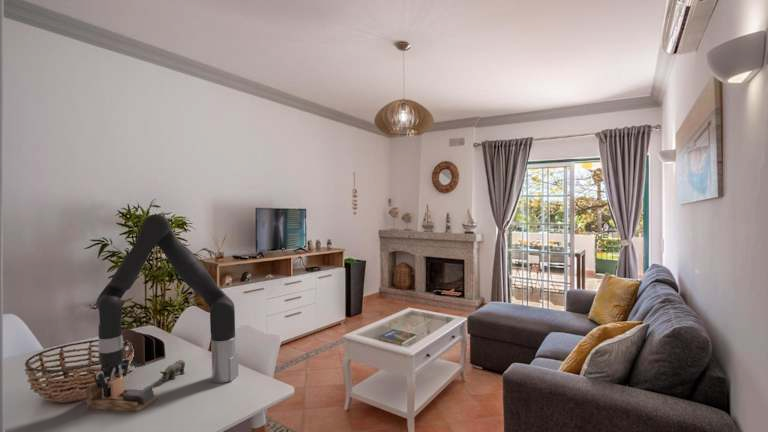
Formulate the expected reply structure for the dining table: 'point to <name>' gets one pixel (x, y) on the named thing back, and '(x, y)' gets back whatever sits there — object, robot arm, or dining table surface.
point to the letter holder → (145, 346)
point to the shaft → (138, 395)
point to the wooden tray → (112, 400)
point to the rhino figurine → (173, 370)
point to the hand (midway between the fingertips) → (113, 393)
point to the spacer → (115, 387)
